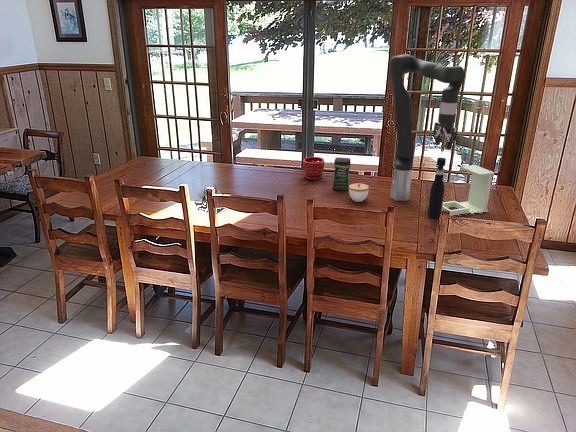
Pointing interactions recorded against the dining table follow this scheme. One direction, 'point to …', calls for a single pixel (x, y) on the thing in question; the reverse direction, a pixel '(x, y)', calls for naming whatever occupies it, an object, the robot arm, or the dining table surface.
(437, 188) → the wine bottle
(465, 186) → the dining table surface
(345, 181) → the coffee jar
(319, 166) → the plant pot
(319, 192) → the dining table surface
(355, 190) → the lidded jar
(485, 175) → the sage socket stand
